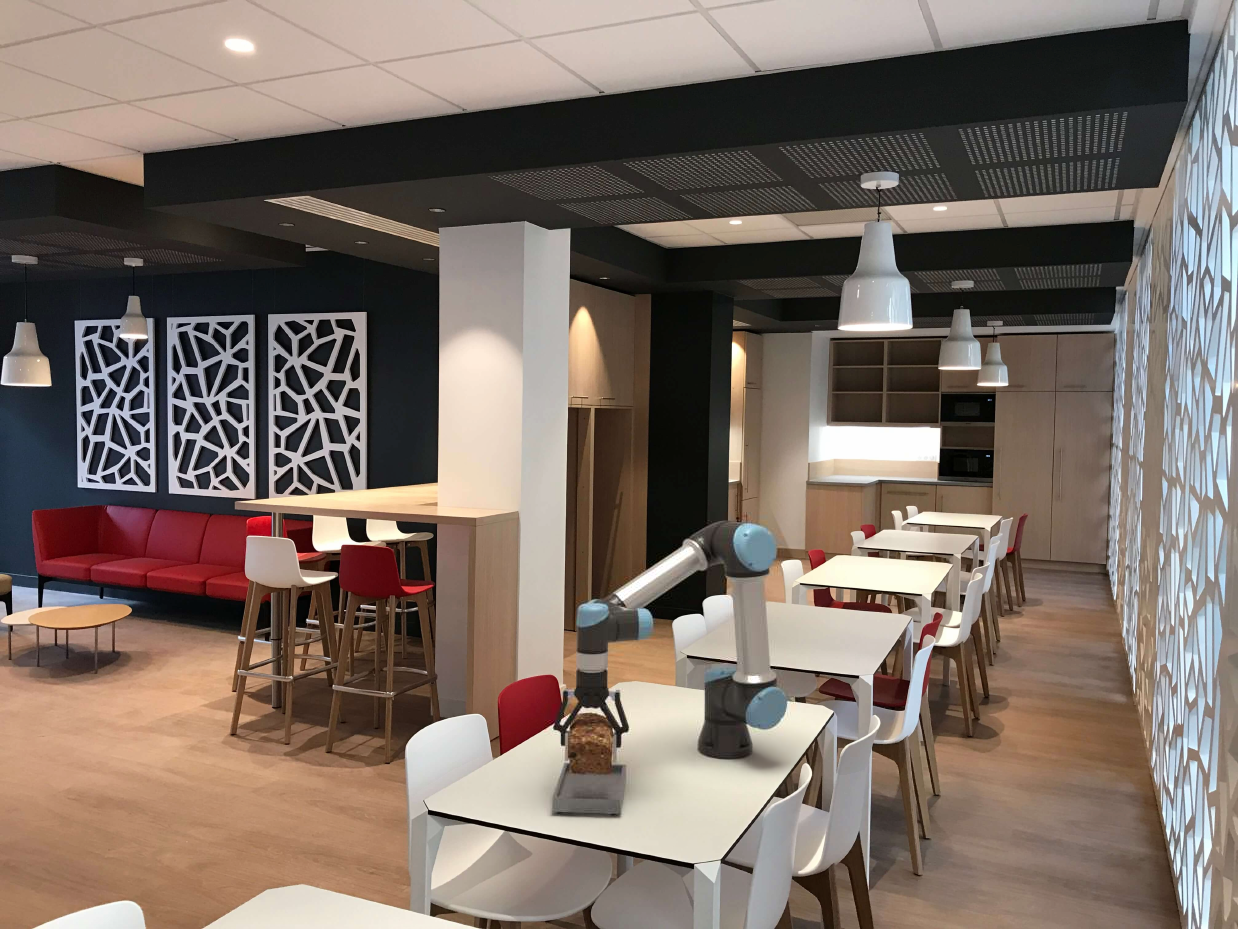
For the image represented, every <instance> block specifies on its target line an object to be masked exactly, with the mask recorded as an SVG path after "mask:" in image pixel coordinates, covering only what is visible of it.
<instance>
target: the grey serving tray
mask: <svg viewBox="0 0 1238 929" xmlns="http://www.w3.org/2000/svg"><path fill="white" fill-rule="evenodd" d="M626 779H627V765H626V764H622V763H621V764H619V763H618V764H617V763H616V764H615V763H614V764H613V763H612V766H611V773H610V774H607V775H605V774H600V775H598V774H593V773H587V774H584V775H581V774H578V773H575V774H574V773H571V771H570V763H569V762H564V763H563V766H562V770H561V772H560V774H559V778H558V781H557V783H556V787H555V789H554V792H553V795H552V798H551V800H552V802H551V804H552V810H551V811H552V813H553V812H554V813H556V814H557V815H558V814H563V813H590V814H591V813H593V814H611V816H617V815H619V814H621V811H622V806H623V805H622V804H623V799H624V793H625V785H626Z"/></svg>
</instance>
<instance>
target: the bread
mask: <svg viewBox="0 0 1238 929" xmlns="http://www.w3.org/2000/svg"><path fill="white" fill-rule="evenodd" d="M568 731H569V759H568V761H569V762H568V763H570V771H571V773H574V774H575V773H578V774H581V775H584V774H587V773H593V774H598V775H600V774H605V775H607V774H610V773H611V766H612V764H613V736H614V735H613V733H614V729H613V728H612V726H611V724H610V723H609V721H608V719H607V718H606V716H605V715H601V714H598V713H597V712H595V713H593V712H581V713H580V712H579V713H578V714H577V715H576V717H575V718H574V720H573V721H572V723H571V724H570V726H569V730H568Z"/></svg>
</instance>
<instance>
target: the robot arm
mask: <svg viewBox="0 0 1238 929" xmlns="http://www.w3.org/2000/svg"><path fill="white" fill-rule="evenodd" d="M777 554H778V547H777V542H776V539H775V538H774V536H773V534H772V532H771V531H769V530H768V529H767V528H766V527H764V526H762V525H758V524H755V523H752V522H742V521H741V522H739V521H733V520H721V521H717V522H716V521H715V522H714V523H711V524H710V525H708V526H705V527H704V528H702V529H700V530H699V531H697V532H695V533H693V534H692V535H691V536H689V537H688V538H686V539H684V540H683V542H682V546H680V547H679V548H677V550H675V551H673V552H672V553H671V554H669V555H667V556H666V557H664V558H663V559H661V560H660V561H659V562H657V563H655V564H653V566H651V567H650V568H648V569H646V570H645V571H643V572H642V573H640V574H639V575H637V576H635V578H633V579H632V580H630V581H629V582H627V583H626V584H624V585H623V586H620V587H619V588H618V589H616V590H615V591H614V592H612V593H611V594H609V595H607V596H606V597H604V598H603V599H601V598H599V599H597V598H594V599H591V600H590V601H588V602H586V603H583V604H580V605H579V606H578V608H577V614H576V622H575V625H576V651H575V652H576V656H575V657H576V668H577V670H576V672H575V674H576V675H575V676H576V677H575V689H568V688H564V690H563V691H562V701H561V704H560V707H559V711H558V713H557V715H556V718H555V720H554V724H553V726H552V728H553V731H557V732H559V733H560V745H561V747H564V762H568V761H569V730H568V728H570V724H571V723H572V721H573V720H574V718H575V717H576V715H577V714H579V713H580V711H581V710H582V708H584V709H594V710H595V709H600V710H601V712H602V713H603V716H604V717H606V718H607V719H608V721H609V723H610V724H611V726H612V728H613V735H614V736H613V749H612V750H613V754H612V764H613V763H614V764H615V763H616V764H617V755H618V754H617V751H618V749H619V748H621V747H622V735H623V734H625V733H628V732H629V731H630V725H629V723H628V719H627V716H626V714H625V710H624V708H623V707H624V706H623V704H622V701H621V691H620V690H619V689H616V690H609V687H608V670H607V668H608V667H609V664H608V663H609V662H608V661H609V659H608V658H609V657H608V656H609V655H608V653H609V643H617V642H618V643H619V642H621V643H622V642H630V641H640V640H645V639H648V638H650V637H651V636H652V634H653V632H654V619H653V615H652V613H651V612H650V611H649V609H646V608H645V607H646V606H647V605H649V604H650V603H651V602H653V601H655V600H656V599H657V598H659V597H660V596H661V595H663V594H665V593H666V592H667V591H669V590H670V589H672V588H673V587H676V585H678V584H680V583H681V582H682V581H684V580H685V579H686V578H688V577H689V576H691V575H693V574H694V573H696V572H697V571H705V570H707V569H708V568H710V567H711V566H715V565H720V564H722V565H724V576H725V577H726V578H727V579H728V580H729V581H730V582H731V594H732V607H733V609H732V610H733V619H734V622H733V624H734V636H735V638H734V639H735V649H736V650H735V651H736V652H735V653H736V664H737V666H736V665H731V666H730V665H728V666H727V665H726V666H717V667H711V668H709V669H707V670H706V671H705V674H704V681H703V684H704V717H703V718H704V721H703V725H702V728H701V730H700V734H699V736H698V741H697V751H698V752H699V753H700V754H702V755H705V756H708V757H710V758H711V757H712V758H717V759H726V760H727V759H729V760H731V759H740V758H745V757H747V756H750V755H751V754H752V753H753V741H752V738H751V734H750V731H749V727H751V728H753V729H758V730H762V731H763V730H766V731H767V730H771V729H772V728H774V727H776V726H777V725H778V724H779V723H780V722H781V720H782V719H783V718H784V716H785V715H786V712H787V708H788V698H787V695H786V694H785V692H784V691H783V690H782V689H781V688H780V687H778V679H777V678H778V677H777V673H776V672H775V671H774V670H772V669H771V660H770V659H771V658H770V646H769V645H770V644H769V632H768V617H767V602H766V589H765V588H766V586H765V580H766V578H767V577H768V576H770V573H771V572H770V568H771V567H772V566H773V564H774V560H776V559H777ZM573 696H574V697H575V699H576V700H577V701H578V702H577V703H576V705H575V706H574V708H573V709H572V711H571V712H570V714H569V716H568V717H567V718H566V720H565V722H564V723H563V724H561V722H562V719H563V716H564V714H565V711H566V708H567V705H568V702H569V700H571V699H572V697H573ZM608 697H610V698H611V700H612V701H613V702H614V706H615V709H616V712H617V714H618V717H619V721H620V723H618V720H617V719H616V717H615V716H614V714H613V713H612V711H611V709H610V707H609V705H608V703H607V702H606V700H607V699H608ZM620 724H621V726H620ZM748 726H749V727H748ZM617 748H618V749H617Z"/></svg>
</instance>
